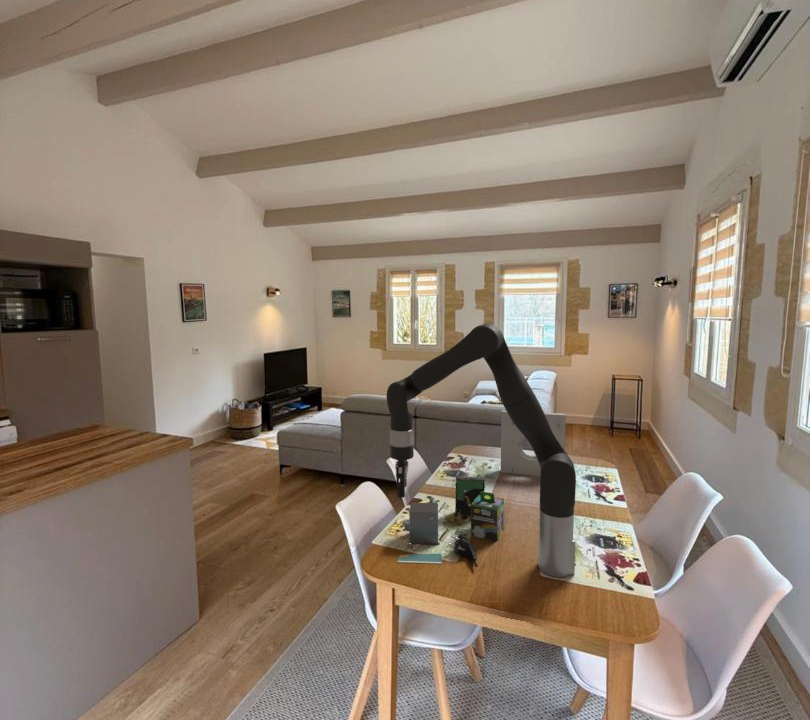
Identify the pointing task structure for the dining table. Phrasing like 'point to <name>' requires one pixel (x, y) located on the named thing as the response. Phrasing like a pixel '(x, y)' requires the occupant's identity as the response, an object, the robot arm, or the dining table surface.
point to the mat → (421, 558)
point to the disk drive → (467, 493)
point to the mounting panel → (512, 449)
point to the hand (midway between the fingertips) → (402, 491)
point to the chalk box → (487, 516)
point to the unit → (423, 523)
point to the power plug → (464, 548)
